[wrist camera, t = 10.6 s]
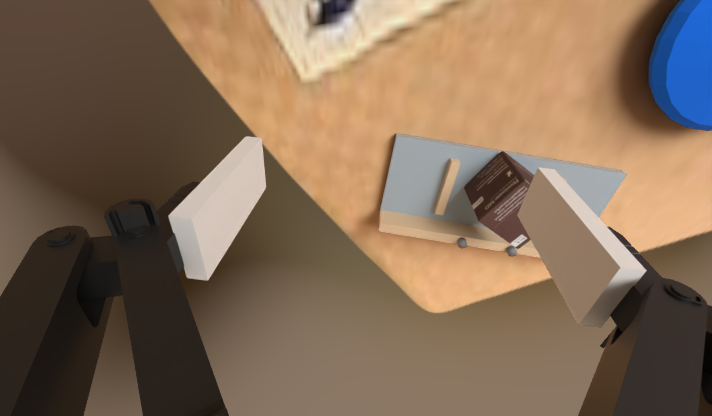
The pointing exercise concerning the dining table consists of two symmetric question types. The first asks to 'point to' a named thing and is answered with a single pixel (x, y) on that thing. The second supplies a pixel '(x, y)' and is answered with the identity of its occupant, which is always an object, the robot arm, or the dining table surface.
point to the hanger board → (449, 199)
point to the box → (501, 197)
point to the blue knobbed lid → (684, 65)
